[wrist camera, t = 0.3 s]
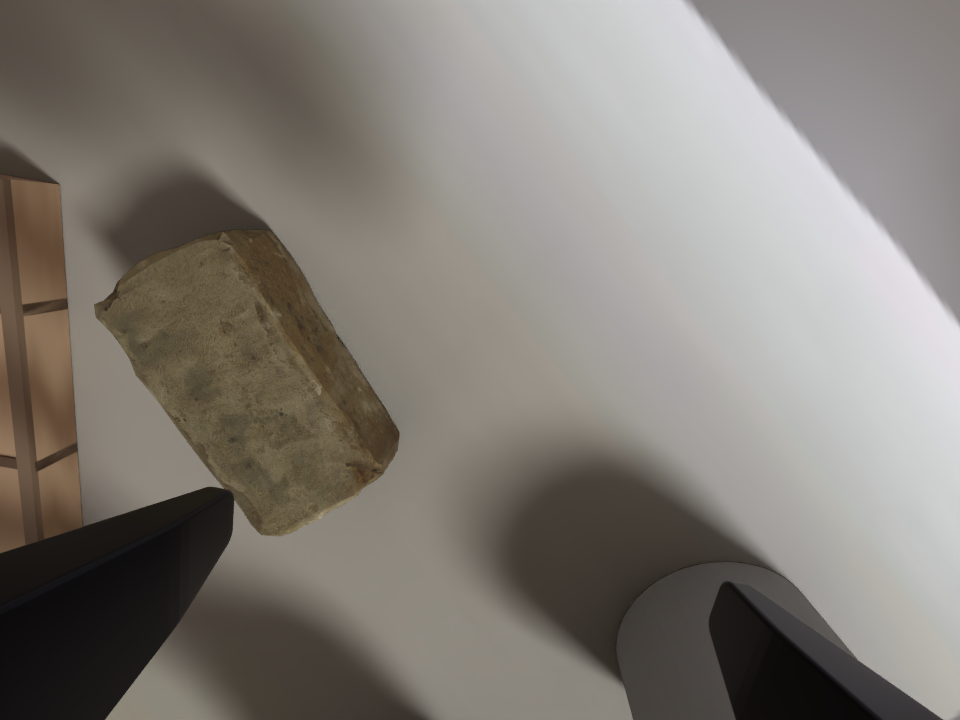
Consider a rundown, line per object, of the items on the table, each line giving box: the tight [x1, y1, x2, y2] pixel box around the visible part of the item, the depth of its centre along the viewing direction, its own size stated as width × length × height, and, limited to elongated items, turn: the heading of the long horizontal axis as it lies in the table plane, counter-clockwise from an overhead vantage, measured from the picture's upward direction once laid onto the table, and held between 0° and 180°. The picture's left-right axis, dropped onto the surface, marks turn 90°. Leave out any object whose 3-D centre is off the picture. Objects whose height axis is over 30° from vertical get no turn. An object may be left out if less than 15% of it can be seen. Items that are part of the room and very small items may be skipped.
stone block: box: [94, 230, 399, 536], centre depth 19 cm, size 6×12×5 cm, turn 30°
